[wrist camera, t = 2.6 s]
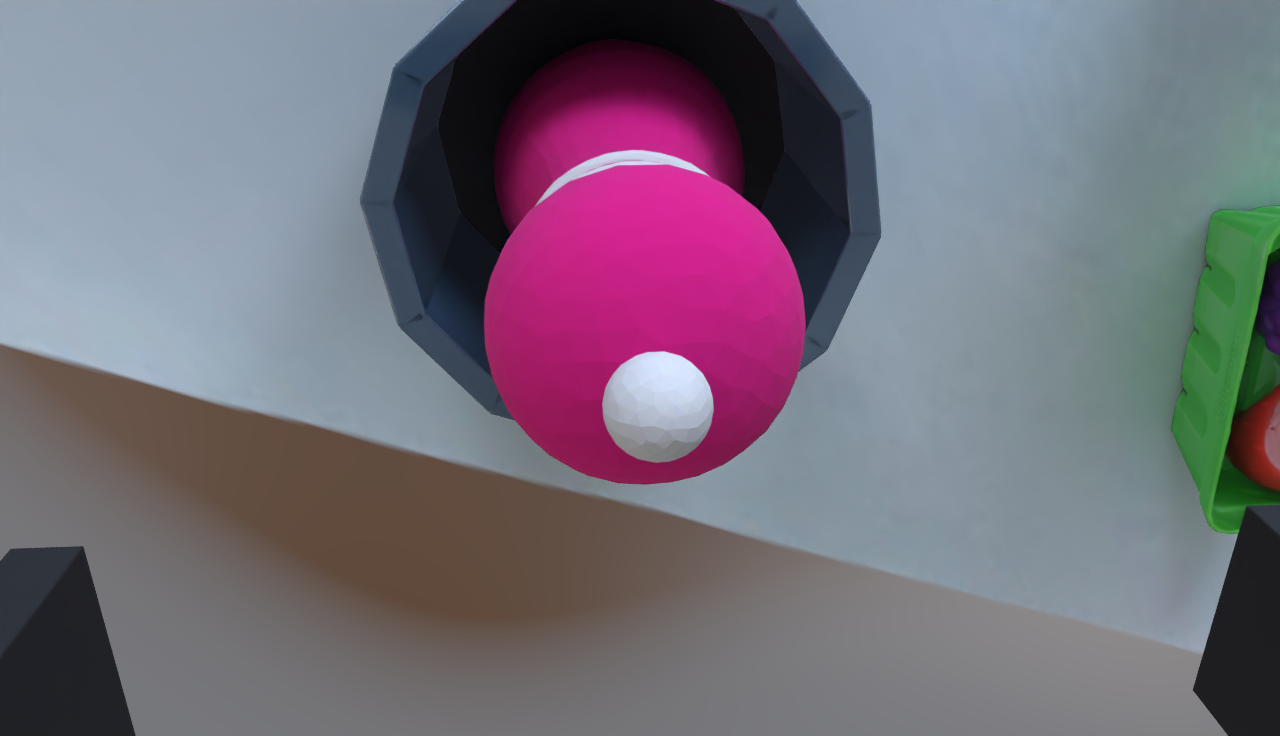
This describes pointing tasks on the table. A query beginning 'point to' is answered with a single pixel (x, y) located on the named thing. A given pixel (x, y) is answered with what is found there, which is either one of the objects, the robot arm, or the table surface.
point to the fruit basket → (1234, 370)
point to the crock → (464, 260)
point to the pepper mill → (635, 271)
